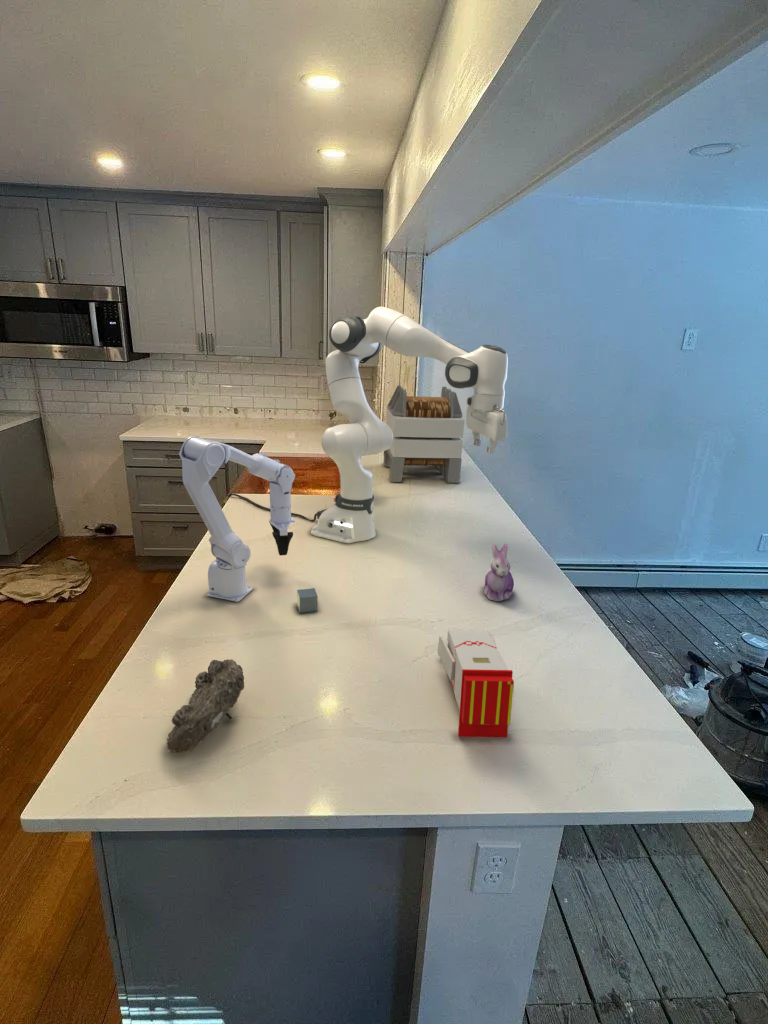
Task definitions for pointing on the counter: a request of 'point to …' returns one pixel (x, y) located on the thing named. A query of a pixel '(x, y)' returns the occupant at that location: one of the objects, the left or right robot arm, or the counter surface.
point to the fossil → (206, 705)
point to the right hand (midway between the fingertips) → (483, 449)
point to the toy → (478, 682)
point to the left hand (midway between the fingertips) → (281, 549)
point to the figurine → (499, 576)
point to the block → (307, 600)
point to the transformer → (425, 433)
